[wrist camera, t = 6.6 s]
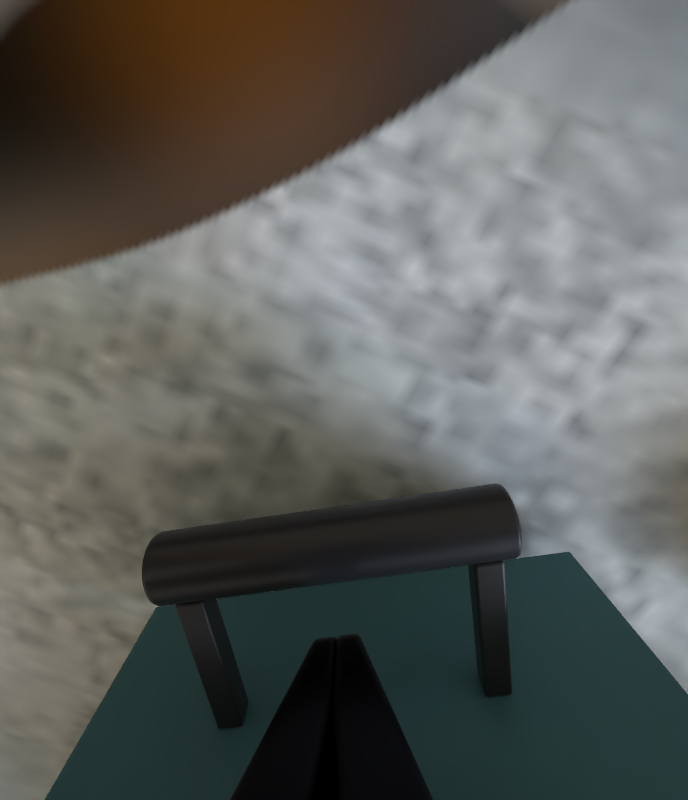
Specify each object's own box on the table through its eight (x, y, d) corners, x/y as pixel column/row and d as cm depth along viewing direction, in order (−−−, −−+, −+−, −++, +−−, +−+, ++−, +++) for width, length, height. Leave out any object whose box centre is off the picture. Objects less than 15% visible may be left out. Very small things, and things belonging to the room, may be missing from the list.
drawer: (106, 472, 12) (-197, 715, 5) (569, 402, 11) (894, 577, 4) (244, 845, 17) (179, 1211, 10) (570, 812, 16) (727, 1180, 9)
